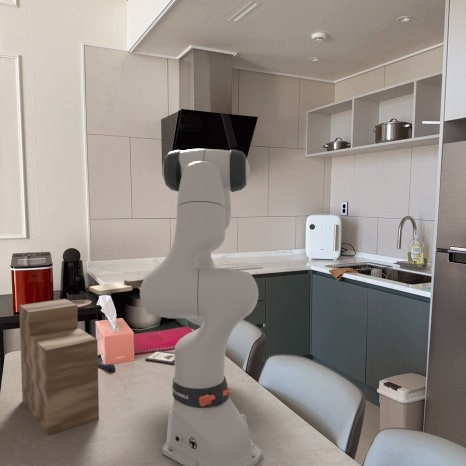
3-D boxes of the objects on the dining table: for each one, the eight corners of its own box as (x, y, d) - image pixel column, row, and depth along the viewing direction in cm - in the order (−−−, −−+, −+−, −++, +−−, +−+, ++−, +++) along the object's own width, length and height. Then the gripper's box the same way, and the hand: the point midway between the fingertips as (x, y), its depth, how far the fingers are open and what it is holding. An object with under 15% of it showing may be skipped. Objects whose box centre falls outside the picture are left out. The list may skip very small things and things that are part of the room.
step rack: (98, 419, 110) (96, 315, 108) (48, 435, 103) (45, 324, 100) (67, 389, 127) (65, 298, 125) (22, 401, 120) (19, 305, 117)
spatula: (158, 281, 131) (158, 274, 131) (171, 284, 126) (171, 277, 126) (88, 290, 118) (88, 282, 118) (99, 294, 113) (99, 287, 113)
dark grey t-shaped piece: (93, 381, 134) (93, 372, 134) (66, 368, 144) (66, 360, 143) (132, 367, 145) (132, 359, 145) (105, 357, 155) (105, 349, 154)
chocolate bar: (194, 366, 143) (145, 359, 149) (194, 369, 143) (145, 361, 149) (205, 357, 152) (158, 350, 158) (205, 359, 152) (158, 353, 158)
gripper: (165, 284, 141) (130, 265, 133) (203, 295, 125) (165, 275, 117) (156, 302, 139) (120, 285, 131) (193, 316, 124) (155, 297, 115)
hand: (142, 280), depth 124 cm, fingers closed on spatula, 2 cm apart
